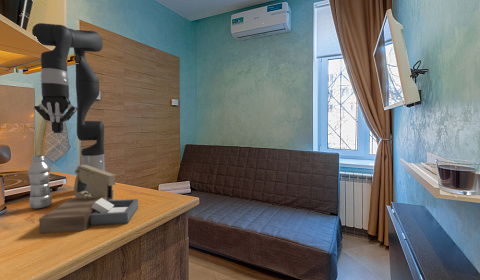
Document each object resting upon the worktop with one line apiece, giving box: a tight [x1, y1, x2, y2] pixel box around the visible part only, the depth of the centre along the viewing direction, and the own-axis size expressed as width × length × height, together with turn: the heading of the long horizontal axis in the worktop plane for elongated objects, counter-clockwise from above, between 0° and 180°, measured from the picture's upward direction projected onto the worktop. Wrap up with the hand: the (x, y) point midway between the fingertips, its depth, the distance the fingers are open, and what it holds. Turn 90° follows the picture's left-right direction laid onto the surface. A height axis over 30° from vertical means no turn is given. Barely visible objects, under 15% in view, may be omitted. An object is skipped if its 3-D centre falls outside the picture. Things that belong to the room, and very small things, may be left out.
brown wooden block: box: [38, 197, 107, 234], centre depth 78 cm, size 18×12×4 cm, turn 11°
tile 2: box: [108, 207, 128, 213], centre depth 81 cm, size 5×5×2 cm
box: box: [90, 198, 139, 227], centre depth 81 cm, size 14×11×4 cm
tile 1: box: [92, 198, 114, 213], centre depth 79 cm, size 5×5×2 cm
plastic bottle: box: [27, 154, 53, 209], centre depth 88 cm, size 6×7×20 cm
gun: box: [73, 164, 116, 200], centre depth 95 cm, size 24×3×15 cm, turn 62°
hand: (57, 132), depth 82 cm, fingers closed
